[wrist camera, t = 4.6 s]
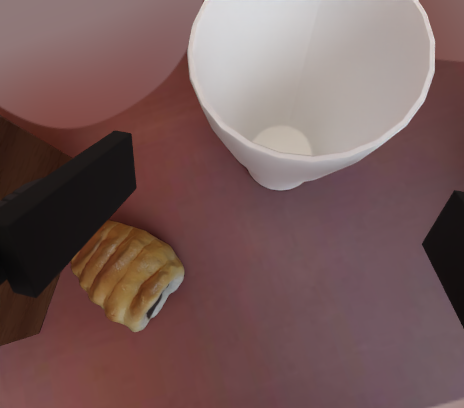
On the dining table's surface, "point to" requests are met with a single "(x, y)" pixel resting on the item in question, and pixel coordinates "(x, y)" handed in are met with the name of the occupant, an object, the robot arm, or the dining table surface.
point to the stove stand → (3, 183)
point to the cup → (309, 80)
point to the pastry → (127, 273)
